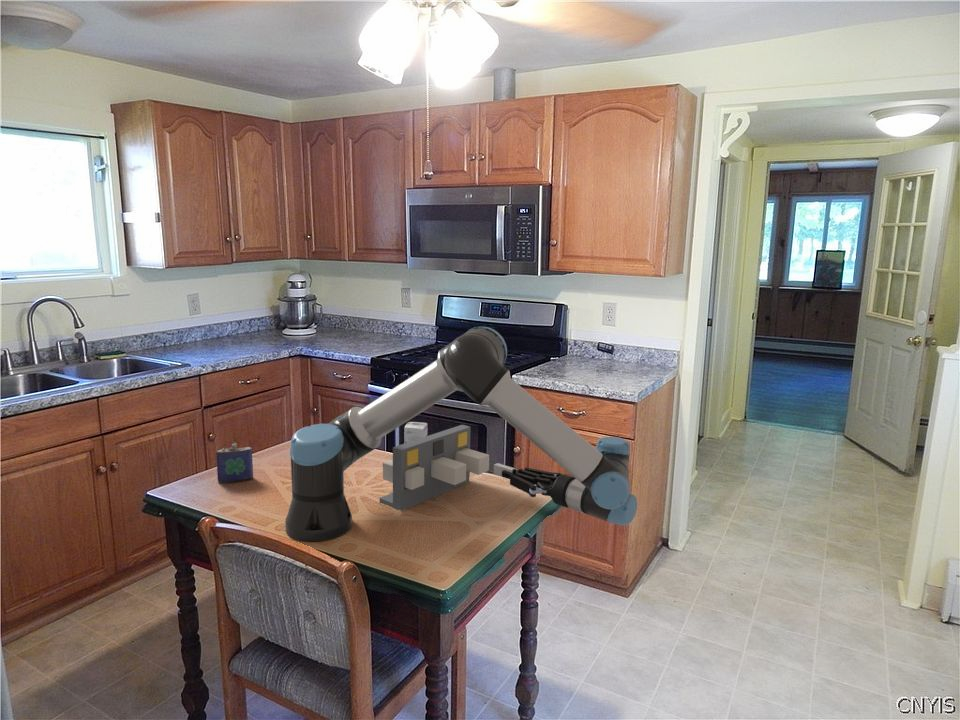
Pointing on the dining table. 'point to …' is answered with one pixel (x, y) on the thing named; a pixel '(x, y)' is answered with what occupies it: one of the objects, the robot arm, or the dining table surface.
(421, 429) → the syrup box
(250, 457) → the flask
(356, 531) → the dining table surface
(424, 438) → the light board
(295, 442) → the robot arm
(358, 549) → the dining table surface
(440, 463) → the button mid
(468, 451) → the button right
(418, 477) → the button left
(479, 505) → the dining table surface
